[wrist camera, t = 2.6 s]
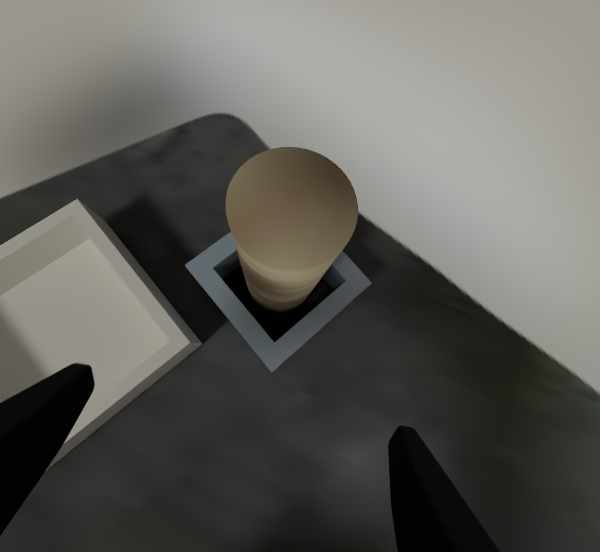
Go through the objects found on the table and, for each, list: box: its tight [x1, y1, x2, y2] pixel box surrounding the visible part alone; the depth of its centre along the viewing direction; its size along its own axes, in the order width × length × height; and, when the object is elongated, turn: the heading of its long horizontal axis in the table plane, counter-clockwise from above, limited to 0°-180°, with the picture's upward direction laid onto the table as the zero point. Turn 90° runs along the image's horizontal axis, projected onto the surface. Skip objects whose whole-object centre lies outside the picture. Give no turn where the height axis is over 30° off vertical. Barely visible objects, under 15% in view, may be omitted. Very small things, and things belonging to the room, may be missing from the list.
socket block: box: [185, 232, 371, 372], centre depth 21 cm, size 8×8×4 cm
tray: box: [0, 199, 202, 470], centre depth 19 cm, size 12×12×4 cm
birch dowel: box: [226, 147, 358, 315], centre depth 16 cm, size 4×4×13 cm
